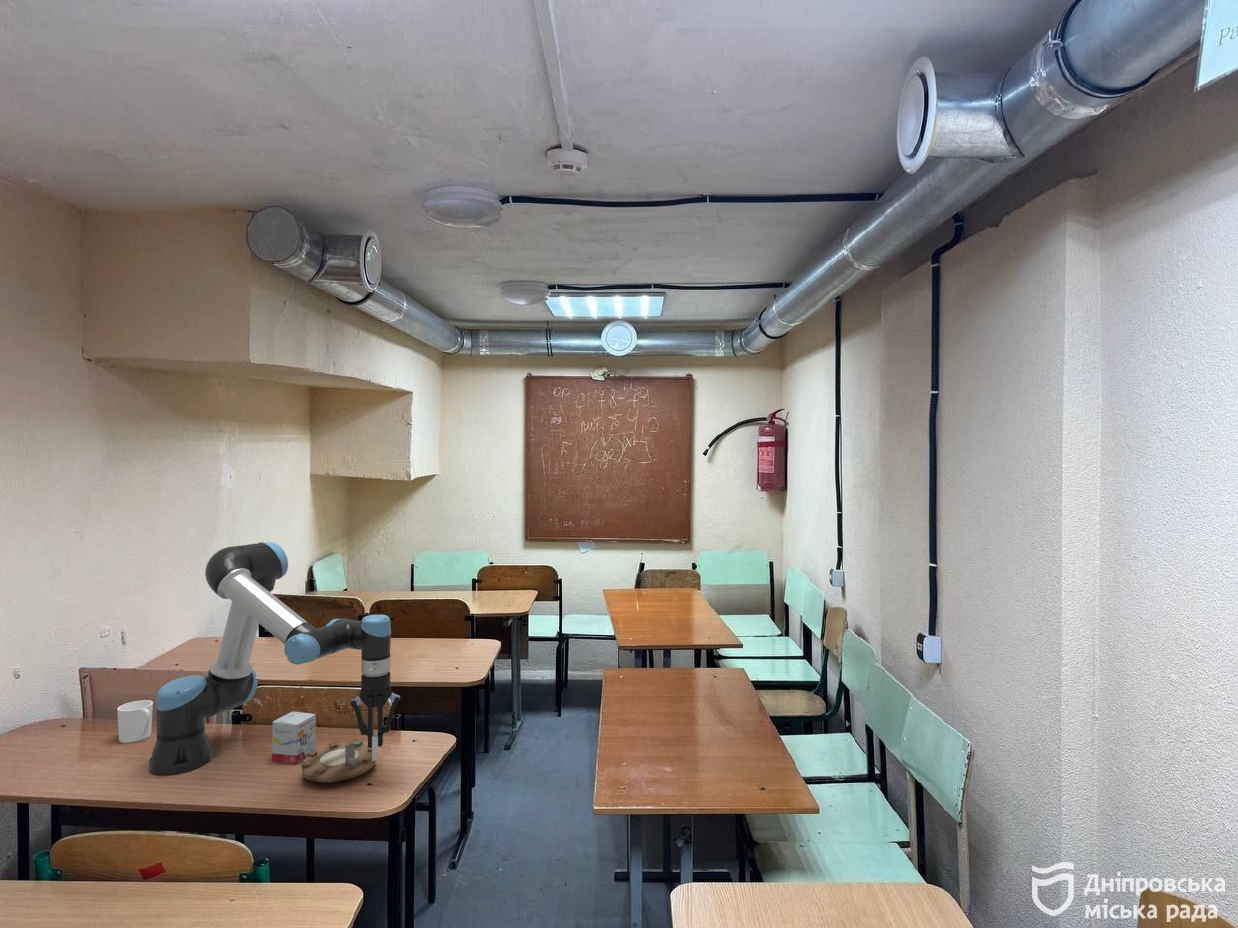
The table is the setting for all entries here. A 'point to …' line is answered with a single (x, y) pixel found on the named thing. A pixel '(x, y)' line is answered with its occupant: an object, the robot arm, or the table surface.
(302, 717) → the ink box
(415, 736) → the table surface
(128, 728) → the mug
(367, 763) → the turntable
